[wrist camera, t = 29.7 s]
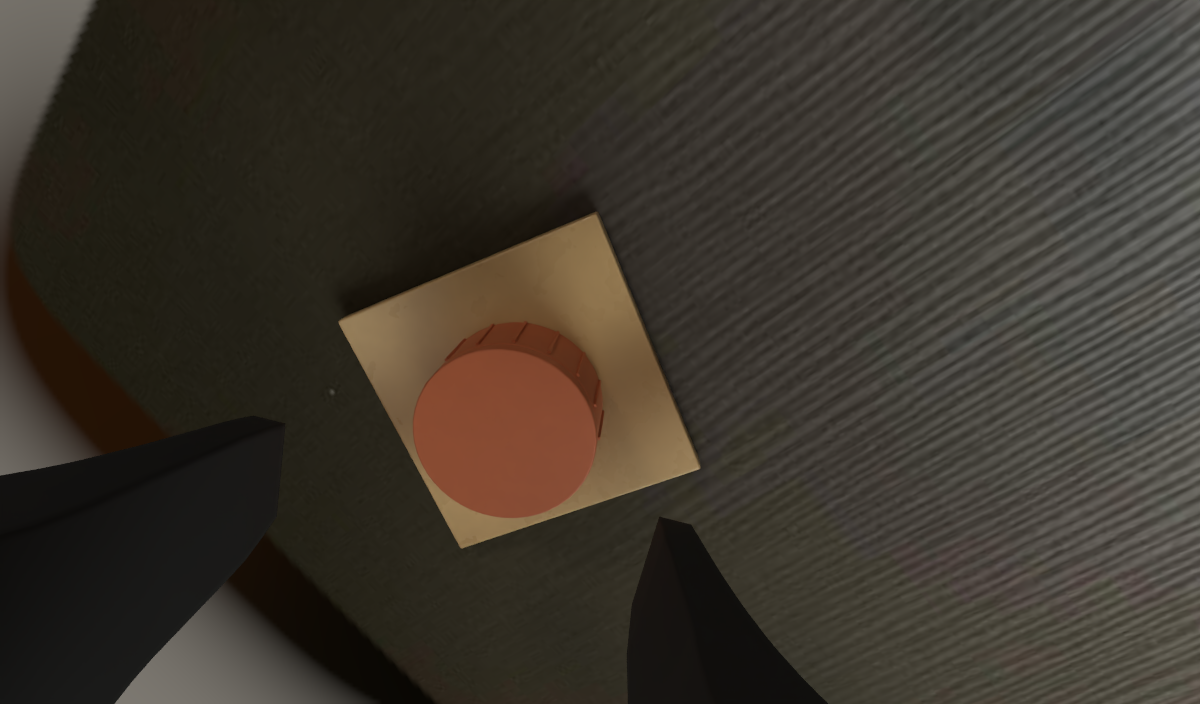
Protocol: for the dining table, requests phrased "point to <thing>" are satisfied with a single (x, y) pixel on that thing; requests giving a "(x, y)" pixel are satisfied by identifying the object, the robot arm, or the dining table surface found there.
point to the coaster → (556, 301)
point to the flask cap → (510, 421)
